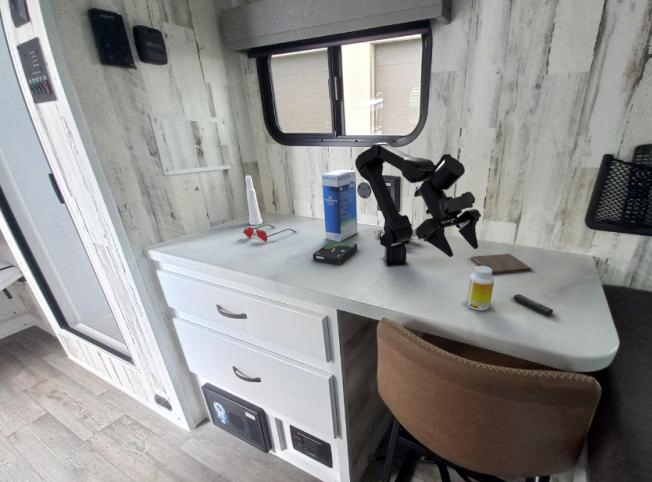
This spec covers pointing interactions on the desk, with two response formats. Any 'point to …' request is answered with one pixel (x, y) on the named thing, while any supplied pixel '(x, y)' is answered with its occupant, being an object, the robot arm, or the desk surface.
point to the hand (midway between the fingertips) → (464, 252)
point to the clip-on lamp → (383, 233)
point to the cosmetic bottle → (252, 203)
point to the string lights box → (340, 204)
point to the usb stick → (533, 304)
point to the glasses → (260, 232)
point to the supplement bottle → (480, 288)
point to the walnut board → (501, 263)
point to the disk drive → (335, 252)
